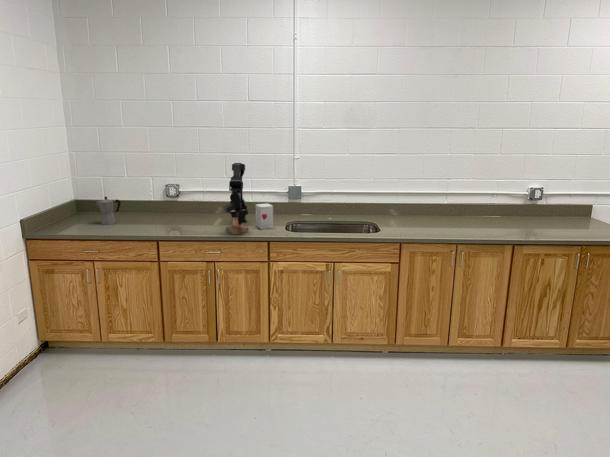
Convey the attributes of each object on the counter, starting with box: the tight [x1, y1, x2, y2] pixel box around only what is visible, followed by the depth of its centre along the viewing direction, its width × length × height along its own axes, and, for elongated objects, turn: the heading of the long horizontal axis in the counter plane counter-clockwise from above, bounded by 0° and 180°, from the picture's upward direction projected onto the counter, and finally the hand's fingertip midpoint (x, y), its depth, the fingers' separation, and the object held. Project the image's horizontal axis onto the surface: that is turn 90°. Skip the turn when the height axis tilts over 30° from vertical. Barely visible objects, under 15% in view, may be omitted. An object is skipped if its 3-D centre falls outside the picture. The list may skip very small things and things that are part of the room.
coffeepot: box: [95, 196, 122, 226], centre depth 305 cm, size 15×9×18 cm, turn 113°
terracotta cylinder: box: [232, 217, 242, 228], centre depth 288 cm, size 5×5×6 cm
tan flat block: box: [225, 224, 249, 235], centre depth 289 cm, size 10×10×3 cm
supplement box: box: [255, 203, 274, 230], centre depth 299 cm, size 9×9×15 cm
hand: (237, 223), depth 288 cm, fingers open, 7 cm apart
